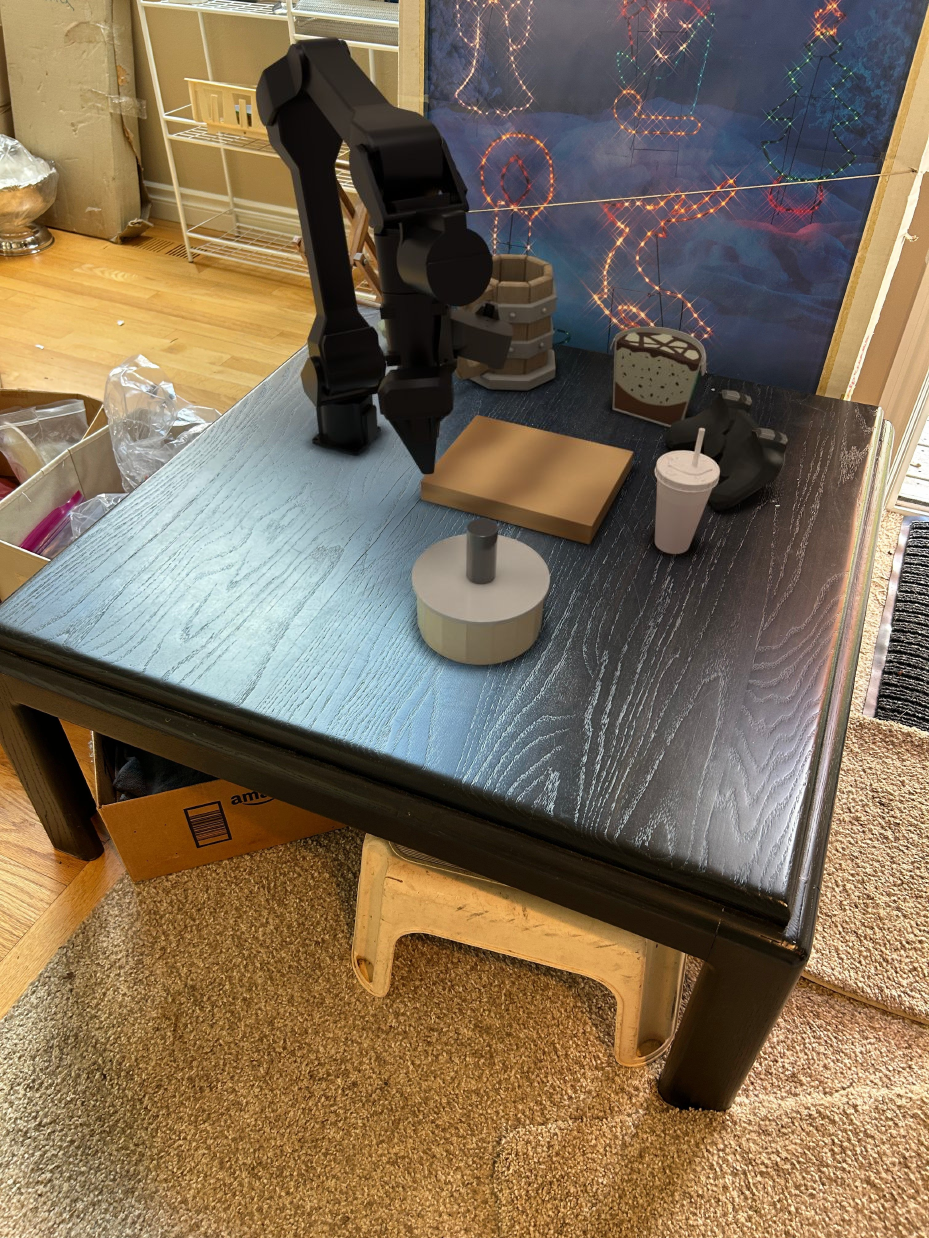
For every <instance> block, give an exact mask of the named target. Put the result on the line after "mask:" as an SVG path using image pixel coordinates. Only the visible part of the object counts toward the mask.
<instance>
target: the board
mask: <svg viewBox="0 0 929 1238" xmlns="http://www.w3.org/2000/svg"><path fill="white" fill-rule="evenodd" d="M633 457H634V451H632V450H629V449H625V448H620V447H616V446H611V445H607V444H602V443H599V442H594V441H590V440H586V439H583V438H582V439H581V438H577V437H573V436H569V435H565V434H560V433H557V432H556V433H555V432H552V431H547V430H544V429H539V428H534V427H531V426H526V425H522V424H518V423H513V422H509V421H505V420H502V419H501V420H500V419H496V418H491V417H488V416H483V415H479V414H476V415H475V416H474V417H473V419H472V420H471V421H470V422H469V423H468V425H467V426H466V427H465V428H464V429H463V431H461V433H460V434H459V435H458V436H457V437H456V439H455V440H454V441H453V442H452V443H451V445H450V446H449V447H448V448H447V450H445V452H444V453H443V454H442V455H441V457H440V458H439V459H438V460H437V461H436V462H435V469H434V473H433V474H426V475H424V476H423V477H422V479H421V480H420V499H421V500H422V501H425V502H429V503H432V504H436V505H440V506H445V507H448V508H452V509H455V510H458V511H462V512H466V513H470V514H473V515H477V516H481V517H484V518H487V519H491V520H496V521H500V522H504V523H507V524H510V525H515V526H518V527H522V528H525V529H529V530H534V531H537V532H541V533H544V534H547V535H552V536H556V537H559V538H562V539H567V540H569V541H574V542H578V543H581V544H585V545H588V546H589V545H590V544H591V543H592V540H593V539H594V537H595V535H596V533H597V532H598V530H599V528H600V527H601V524H602V522H603V521H604V519H605V517H606V516H607V514H608V512H609V510H610V508H611V506H612V504H613V503H614V501H615V499H616V498H617V495H618V494H619V492H620V490H621V488H622V486H623V484H624V483H625V481H626V479H627V477H628V475H629V474H630V472H631V470H632V465H633V459H634V458H633Z"/></svg>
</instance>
